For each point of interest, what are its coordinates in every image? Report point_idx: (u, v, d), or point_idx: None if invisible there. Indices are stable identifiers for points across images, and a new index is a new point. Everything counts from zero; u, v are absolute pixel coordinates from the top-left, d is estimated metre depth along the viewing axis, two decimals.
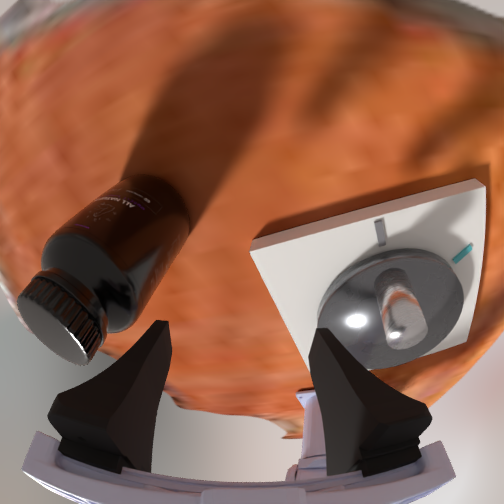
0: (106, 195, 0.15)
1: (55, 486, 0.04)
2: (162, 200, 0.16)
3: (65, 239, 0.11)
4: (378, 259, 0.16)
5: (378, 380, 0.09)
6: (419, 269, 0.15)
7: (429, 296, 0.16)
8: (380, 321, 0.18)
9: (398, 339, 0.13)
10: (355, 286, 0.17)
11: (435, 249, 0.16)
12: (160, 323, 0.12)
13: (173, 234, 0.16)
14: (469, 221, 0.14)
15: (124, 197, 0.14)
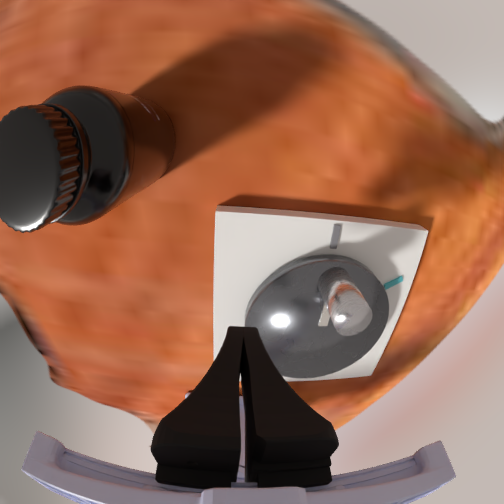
0: (124, 93, 0.13)
1: (55, 486, 0.04)
2: (166, 126, 0.15)
3: (90, 91, 0.09)
4: (328, 257, 0.19)
5: (287, 387, 0.09)
6: (360, 277, 0.19)
7: None
8: (310, 320, 0.21)
9: (345, 322, 0.15)
10: (303, 274, 0.19)
11: (373, 269, 0.21)
12: (236, 329, 0.12)
13: (162, 159, 0.15)
14: (407, 255, 0.20)
15: (142, 102, 0.13)
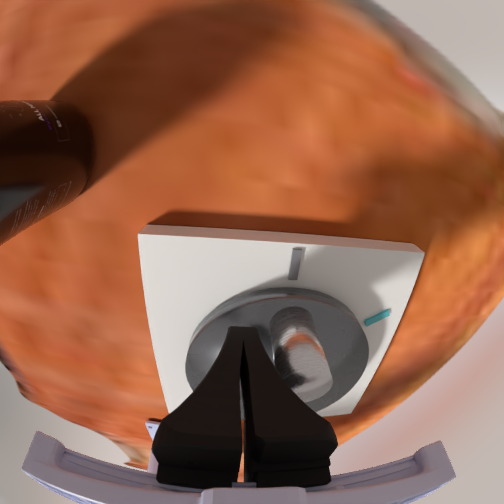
0: (24, 100, 0.08)
1: (55, 486, 0.04)
2: (73, 133, 0.11)
3: None
4: (284, 293, 0.15)
5: (286, 387, 0.09)
6: (328, 318, 0.15)
7: (329, 353, 0.16)
8: None
9: (292, 389, 0.11)
10: (248, 315, 0.14)
11: (349, 303, 0.16)
12: (237, 329, 0.12)
13: (65, 175, 0.11)
14: (395, 284, 0.16)
15: (39, 109, 0.08)
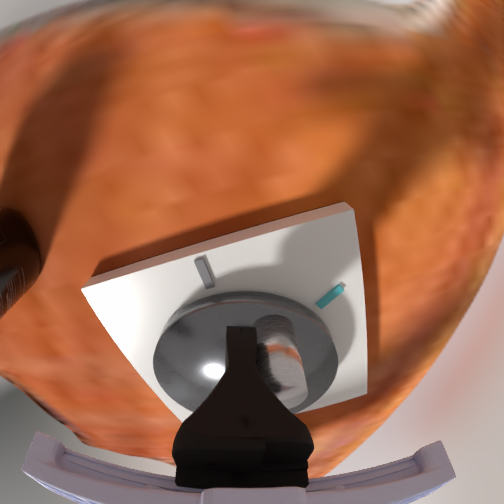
0: None
1: (55, 486, 0.04)
2: (8, 233, 0.13)
3: None
4: (272, 299, 0.15)
5: (265, 388, 0.09)
6: (309, 333, 0.15)
7: None
8: None
9: None
10: (233, 314, 0.14)
11: (286, 292, 0.16)
12: (250, 330, 0.12)
13: (14, 266, 0.13)
14: (332, 255, 0.15)
15: None
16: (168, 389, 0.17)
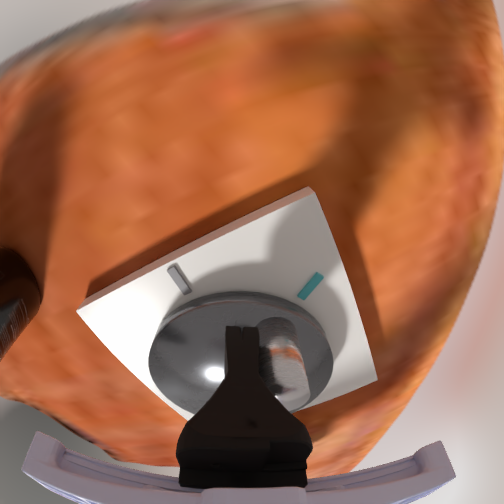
0: None
1: (55, 486, 0.04)
2: (5, 270, 0.14)
3: None
4: (277, 302, 0.15)
5: (264, 388, 0.09)
6: (309, 338, 0.15)
7: None
8: None
9: None
10: (238, 313, 0.14)
11: (264, 287, 0.15)
12: (252, 330, 0.12)
13: (14, 298, 0.14)
14: (303, 243, 0.14)
15: None
16: (160, 384, 0.17)
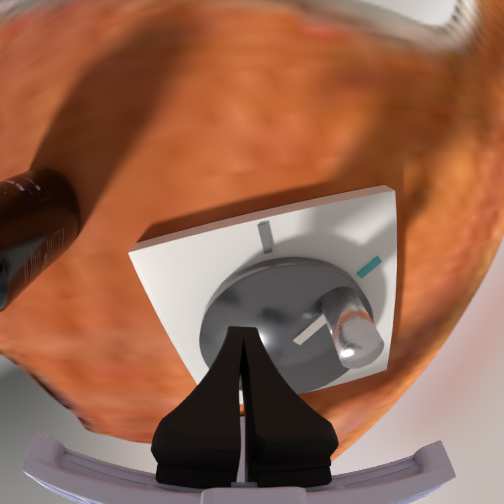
0: (6, 179, 0.11)
1: (55, 486, 0.04)
2: (52, 190, 0.13)
3: None
4: (347, 275, 0.17)
5: (287, 387, 0.09)
6: None
7: None
8: (288, 330, 0.17)
9: (355, 350, 0.12)
10: (319, 277, 0.16)
11: (334, 260, 0.17)
12: (236, 329, 0.12)
13: (56, 224, 0.14)
14: (375, 229, 0.16)
15: (18, 182, 0.11)
16: (205, 342, 0.17)
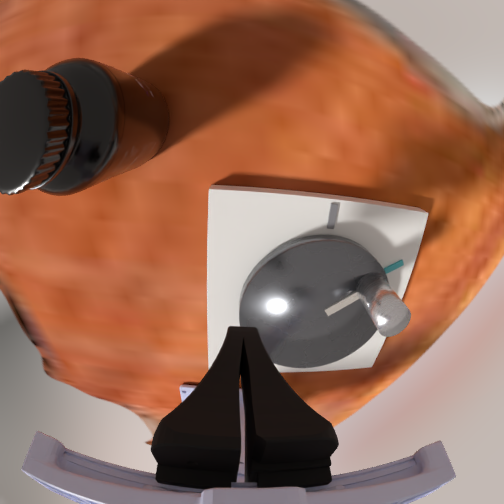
0: None
1: (55, 486, 0.04)
2: (159, 103, 0.15)
3: (85, 61, 0.08)
4: None
5: (287, 387, 0.09)
6: None
7: (355, 324, 0.21)
8: (324, 299, 0.20)
9: (391, 318, 0.15)
10: (365, 259, 0.18)
11: (372, 252, 0.20)
12: (236, 329, 0.12)
13: (154, 135, 0.15)
14: (407, 237, 0.20)
15: (136, 78, 0.12)
16: (251, 293, 0.19)
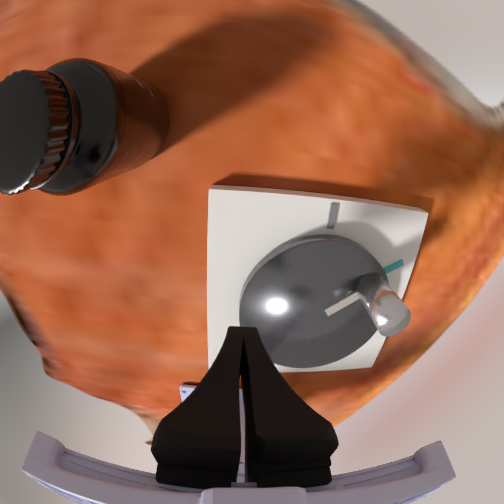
0: None
1: (55, 486, 0.04)
2: (160, 103, 0.15)
3: (85, 61, 0.08)
4: None
5: (287, 387, 0.09)
6: None
7: (355, 324, 0.21)
8: (324, 299, 0.20)
9: (391, 318, 0.15)
10: (365, 259, 0.18)
11: (372, 252, 0.20)
12: (236, 329, 0.12)
13: (154, 135, 0.15)
14: (407, 237, 0.20)
15: (136, 78, 0.12)
16: (251, 293, 0.19)
